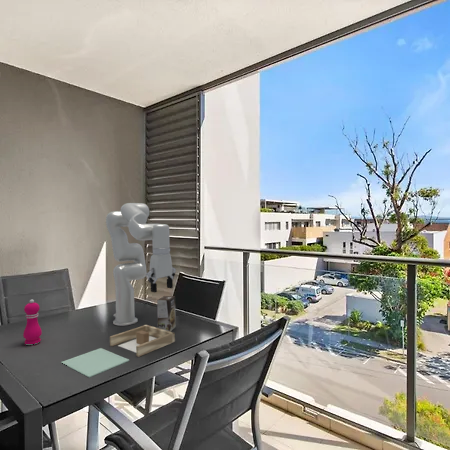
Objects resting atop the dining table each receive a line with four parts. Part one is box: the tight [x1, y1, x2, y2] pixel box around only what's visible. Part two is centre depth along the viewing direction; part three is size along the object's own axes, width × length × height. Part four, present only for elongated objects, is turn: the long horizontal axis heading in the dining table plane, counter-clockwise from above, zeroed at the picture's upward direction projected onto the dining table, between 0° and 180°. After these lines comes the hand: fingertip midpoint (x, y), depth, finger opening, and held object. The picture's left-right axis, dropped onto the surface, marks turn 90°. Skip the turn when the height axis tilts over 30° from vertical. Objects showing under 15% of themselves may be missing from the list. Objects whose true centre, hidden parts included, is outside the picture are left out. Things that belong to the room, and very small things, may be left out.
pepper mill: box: [22, 299, 43, 345], centre depth 151 cm, size 7×7×20 cm
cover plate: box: [117, 330, 156, 354], centre depth 149 cm, size 14×16×6 cm
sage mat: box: [60, 347, 130, 378], centre depth 131 cm, size 20×17×1 cm
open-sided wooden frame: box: [109, 324, 176, 358], centre depth 149 cm, size 20×20×4 cm
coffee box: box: [156, 295, 176, 332], centre depth 167 cm, size 9×6×16 cm
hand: (161, 289), depth 149 cm, fingers open, 9 cm apart
